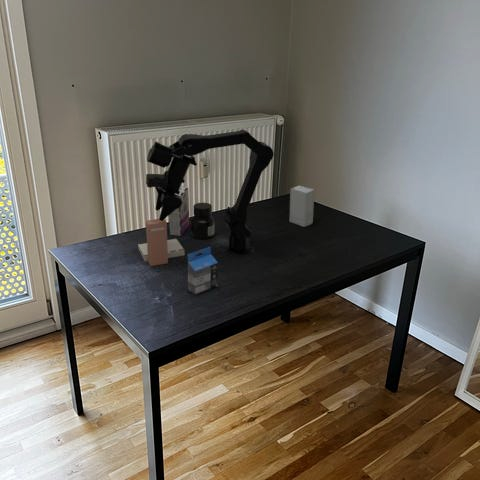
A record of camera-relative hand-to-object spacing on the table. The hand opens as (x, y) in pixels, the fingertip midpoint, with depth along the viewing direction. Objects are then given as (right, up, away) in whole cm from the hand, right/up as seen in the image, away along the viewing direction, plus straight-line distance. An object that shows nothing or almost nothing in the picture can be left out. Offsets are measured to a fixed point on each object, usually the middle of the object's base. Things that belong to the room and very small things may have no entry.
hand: (158, 215), depth 158 cm
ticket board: (-1, -13, +10) cm, 16 cm away
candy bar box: (+3, -5, +28) cm, 29 cm away
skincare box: (+52, -1, +39) cm, 65 cm away
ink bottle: (+13, -6, +25) cm, 29 cm away
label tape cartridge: (+16, -23, -11) cm, 30 cm away
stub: (-1, -16, +3) cm, 16 cm away
